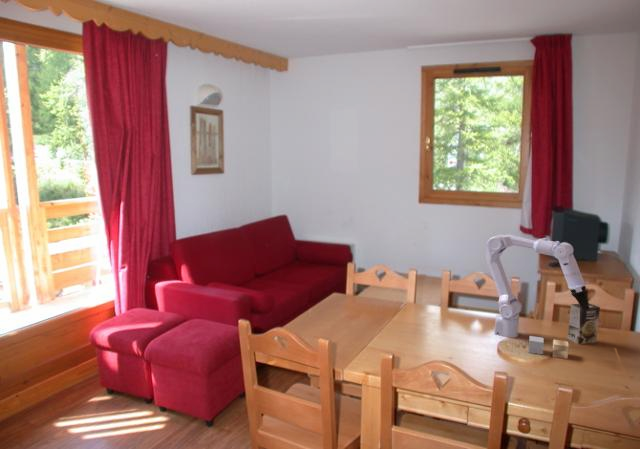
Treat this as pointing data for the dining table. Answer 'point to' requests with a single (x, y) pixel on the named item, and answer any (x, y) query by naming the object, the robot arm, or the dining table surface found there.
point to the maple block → (560, 349)
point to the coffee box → (583, 324)
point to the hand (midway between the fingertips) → (585, 307)
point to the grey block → (536, 345)
